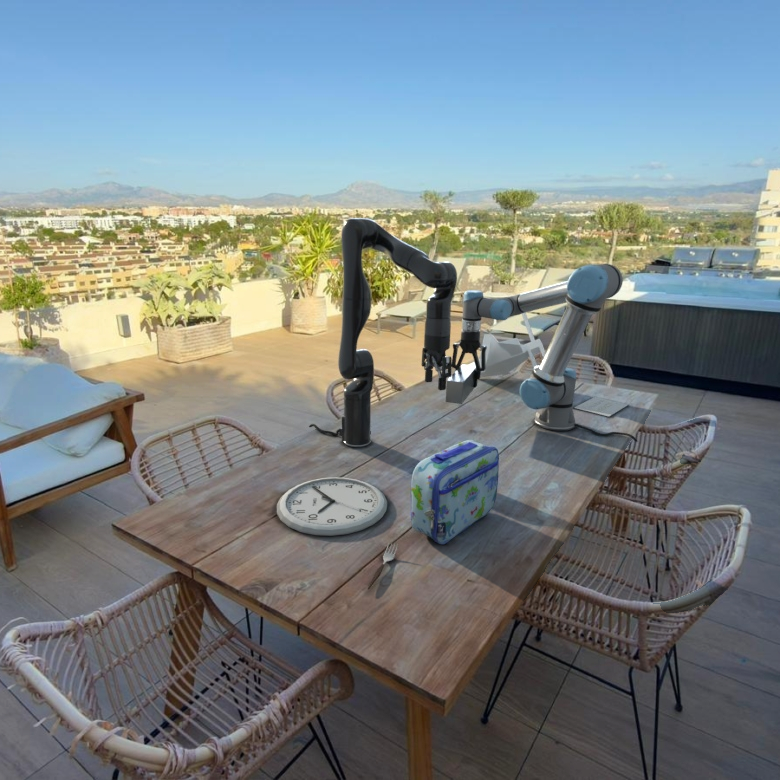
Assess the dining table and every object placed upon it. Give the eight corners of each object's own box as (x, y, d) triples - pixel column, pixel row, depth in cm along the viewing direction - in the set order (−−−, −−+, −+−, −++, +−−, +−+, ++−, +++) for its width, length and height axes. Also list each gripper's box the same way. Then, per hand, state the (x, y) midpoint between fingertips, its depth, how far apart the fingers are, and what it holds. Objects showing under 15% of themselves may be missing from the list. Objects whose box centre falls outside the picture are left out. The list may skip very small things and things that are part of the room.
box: (461, 383, 219) (462, 364, 217) (476, 385, 217) (477, 365, 215) (445, 402, 196) (446, 380, 194) (461, 404, 194) (463, 382, 192)
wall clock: (392, 527, 129) (268, 531, 127) (391, 533, 130) (269, 537, 127) (383, 473, 158) (282, 475, 155) (383, 478, 158) (282, 480, 156)
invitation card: (608, 416, 214) (573, 407, 224) (608, 416, 214) (573, 408, 224) (628, 404, 229) (594, 396, 238) (628, 405, 229) (594, 397, 238)
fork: (362, 589, 110) (362, 581, 109) (388, 548, 124) (388, 541, 123) (373, 592, 109) (373, 584, 108) (398, 550, 123) (399, 543, 122)
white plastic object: (490, 419, 265) (470, 397, 240) (471, 347, 287) (451, 319, 262) (561, 395, 253) (548, 369, 228) (536, 321, 275) (521, 290, 250)
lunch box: (436, 553, 122) (441, 472, 116) (403, 535, 129) (406, 457, 123) (500, 514, 140) (507, 441, 133) (468, 499, 147) (473, 430, 141)
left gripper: (415, 328, 157) (413, 380, 162) (437, 338, 144) (435, 394, 149) (437, 327, 160) (435, 378, 165) (461, 336, 147) (457, 391, 152)
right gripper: (444, 329, 208) (441, 385, 215) (493, 334, 201) (488, 391, 208) (449, 326, 215) (446, 380, 222) (496, 330, 208) (492, 385, 215)
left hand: (435, 385), depth 157 cm, fingers open, 8 cm apart
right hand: (467, 385), depth 215 cm, fingers closed on box, 6 cm apart
